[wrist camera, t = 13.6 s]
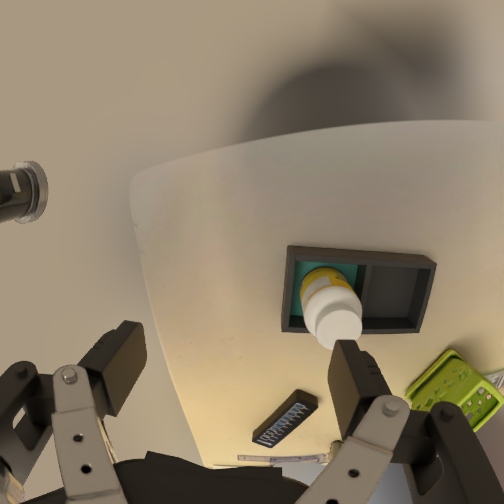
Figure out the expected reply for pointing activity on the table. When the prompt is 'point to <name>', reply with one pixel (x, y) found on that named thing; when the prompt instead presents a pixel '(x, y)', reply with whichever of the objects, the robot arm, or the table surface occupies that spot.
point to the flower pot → (455, 389)
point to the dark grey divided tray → (365, 287)
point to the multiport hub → (285, 419)
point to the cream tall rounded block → (334, 449)
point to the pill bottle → (330, 306)
